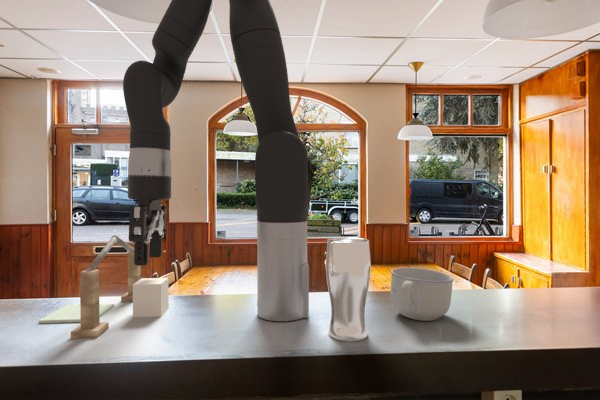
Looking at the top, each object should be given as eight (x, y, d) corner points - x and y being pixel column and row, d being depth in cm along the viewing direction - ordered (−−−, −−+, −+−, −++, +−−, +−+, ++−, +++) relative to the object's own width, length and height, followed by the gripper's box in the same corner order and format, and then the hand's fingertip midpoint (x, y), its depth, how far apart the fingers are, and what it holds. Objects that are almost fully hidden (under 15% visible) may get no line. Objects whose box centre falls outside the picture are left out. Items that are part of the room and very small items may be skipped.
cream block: (168, 308, 74) (168, 277, 74) (161, 316, 69) (161, 284, 69) (142, 309, 74) (141, 278, 73) (132, 317, 69) (132, 284, 68)
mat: (114, 306, 75) (114, 303, 75) (93, 321, 66) (93, 318, 66) (66, 307, 74) (66, 305, 74) (38, 323, 65) (38, 320, 65)
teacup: (409, 303, 77) (409, 264, 77) (463, 315, 69) (463, 272, 69) (369, 319, 67) (369, 274, 67) (426, 336, 59) (426, 285, 59)
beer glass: (369, 344, 56) (370, 243, 56) (323, 341, 57) (323, 242, 57) (370, 328, 63) (370, 237, 62) (328, 325, 64) (328, 236, 64)
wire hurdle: (147, 295, 83) (146, 229, 83) (97, 337, 59) (96, 243, 59) (128, 296, 83) (127, 229, 82) (70, 338, 59) (69, 243, 58)
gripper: (159, 172, 64) (158, 268, 64) (179, 176, 78) (178, 254, 78) (113, 171, 63) (112, 268, 64) (142, 175, 78) (141, 254, 78)
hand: (148, 260), depth 71 cm, fingers open, 8 cm apart
